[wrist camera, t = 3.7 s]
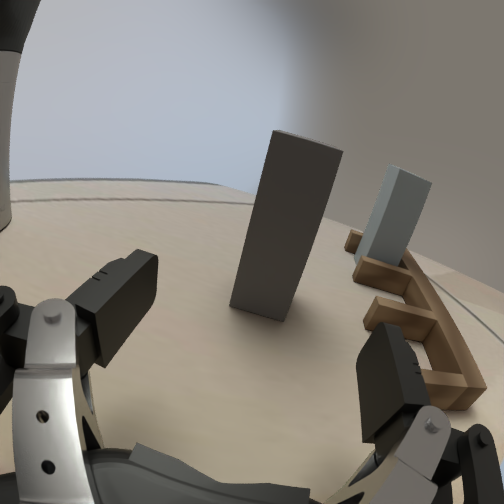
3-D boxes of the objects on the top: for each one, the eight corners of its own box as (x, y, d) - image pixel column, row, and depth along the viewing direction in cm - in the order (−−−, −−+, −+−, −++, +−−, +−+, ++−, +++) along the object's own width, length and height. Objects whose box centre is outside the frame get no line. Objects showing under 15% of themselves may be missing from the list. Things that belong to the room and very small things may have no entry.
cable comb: (378, 404, 14) (400, 379, 13) (344, 246, 35) (351, 229, 34) (466, 409, 14) (487, 388, 12) (399, 264, 35) (406, 248, 34)
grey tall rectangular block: (229, 305, 20) (272, 130, 15) (240, 277, 23) (279, 130, 18) (283, 321, 20) (343, 151, 14) (287, 291, 23) (335, 146, 18)
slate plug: (358, 273, 30) (399, 168, 24) (353, 257, 33) (388, 163, 28) (389, 282, 29) (432, 183, 24) (382, 266, 33) (418, 176, 28)
